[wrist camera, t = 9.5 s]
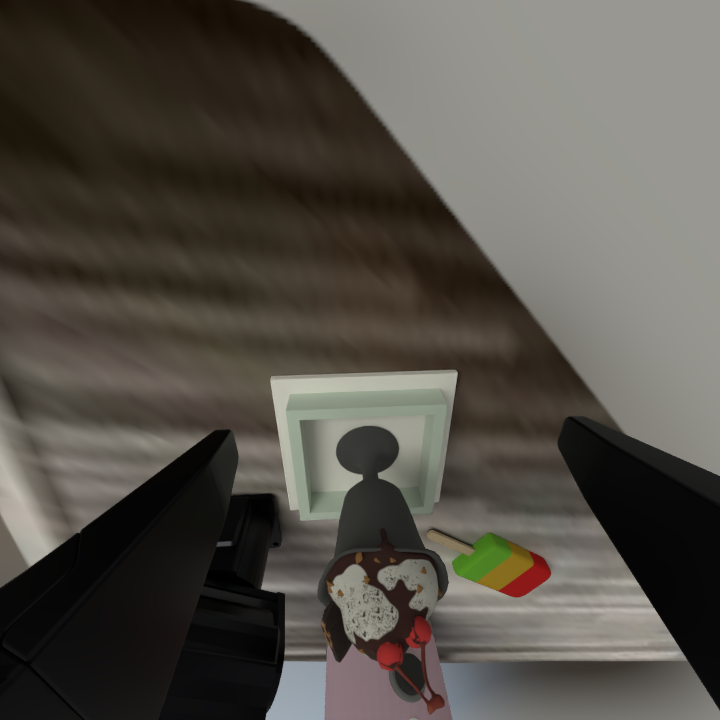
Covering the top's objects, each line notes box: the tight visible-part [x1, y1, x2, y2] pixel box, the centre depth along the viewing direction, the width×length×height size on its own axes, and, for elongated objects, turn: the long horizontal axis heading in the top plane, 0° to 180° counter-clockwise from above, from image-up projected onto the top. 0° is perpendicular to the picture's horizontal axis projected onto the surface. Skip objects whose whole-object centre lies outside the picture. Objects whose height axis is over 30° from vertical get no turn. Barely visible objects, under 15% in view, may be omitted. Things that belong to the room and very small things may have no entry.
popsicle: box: [426, 530, 551, 597], centre depth 33 cm, size 6×15×2 cm, turn 55°
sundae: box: [318, 426, 449, 715], centre depth 19 cm, size 7×7×15 cm
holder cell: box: [270, 370, 458, 521], centre depth 25 cm, size 13×13×2 cm
